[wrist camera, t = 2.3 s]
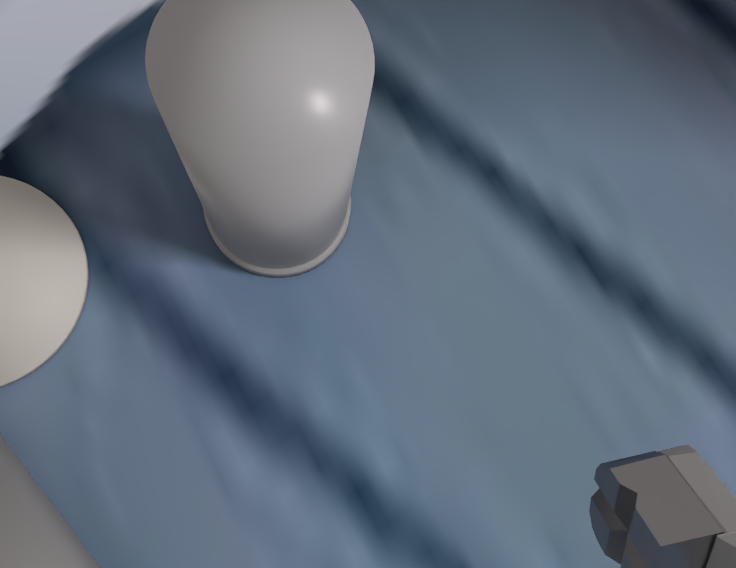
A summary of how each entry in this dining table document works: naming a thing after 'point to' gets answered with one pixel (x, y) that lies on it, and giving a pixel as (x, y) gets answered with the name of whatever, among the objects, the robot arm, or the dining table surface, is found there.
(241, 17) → the elbow
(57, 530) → the tube
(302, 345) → the dining table surface
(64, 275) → the flange
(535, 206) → the dining table surface
